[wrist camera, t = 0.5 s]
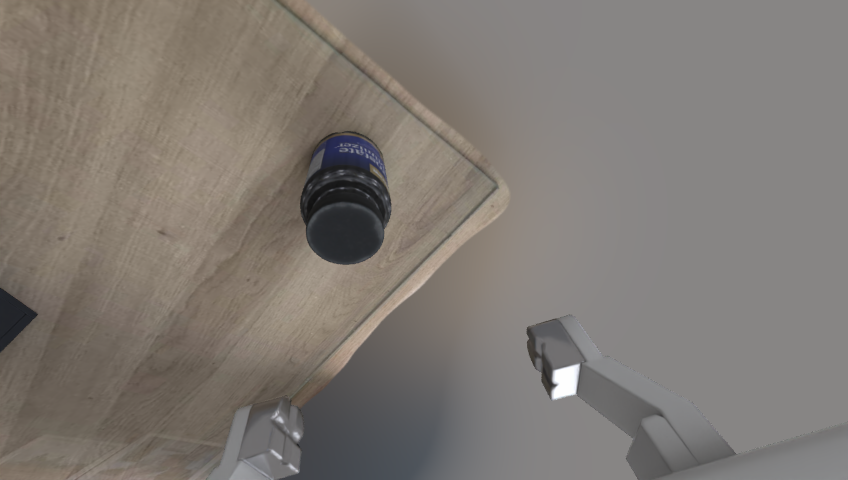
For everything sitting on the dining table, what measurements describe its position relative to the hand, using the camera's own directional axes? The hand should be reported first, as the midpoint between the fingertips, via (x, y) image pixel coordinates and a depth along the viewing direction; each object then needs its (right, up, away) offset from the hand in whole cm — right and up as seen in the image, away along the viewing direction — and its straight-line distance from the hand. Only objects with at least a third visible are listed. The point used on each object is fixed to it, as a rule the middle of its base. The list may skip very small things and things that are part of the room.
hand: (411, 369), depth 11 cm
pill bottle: (-6, +11, +18) cm, 22 cm away
